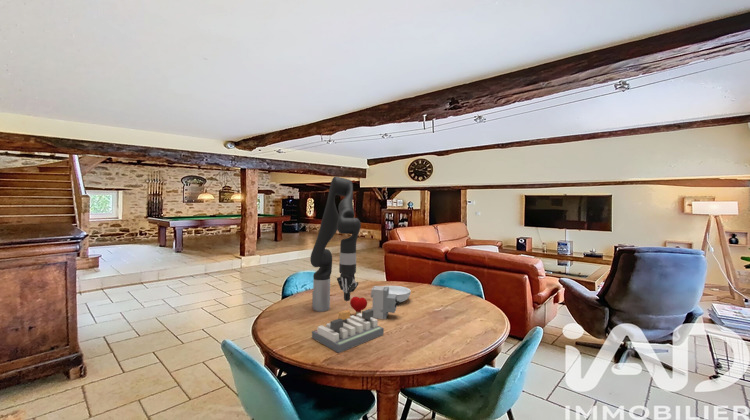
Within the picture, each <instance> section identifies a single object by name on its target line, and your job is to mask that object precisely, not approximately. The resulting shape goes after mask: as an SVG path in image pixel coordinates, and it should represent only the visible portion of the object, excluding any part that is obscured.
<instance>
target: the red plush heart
mask: <svg viewBox="0 0 750 420" xmlns="http://www.w3.org/2000/svg"><path fill="white" fill-rule="evenodd" d="M349 301H350V302H349V303H350V307H351V309H353V310H354V311H355V315H356V314H359V313H361V314H362V311H364V310H366V308H367V306H368V300H367V299H366V298H365V297H359V296H354V297H351V298H350V300H349Z"/></svg>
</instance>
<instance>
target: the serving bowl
mask: <svg viewBox="0 0 750 420" xmlns="http://www.w3.org/2000/svg"><path fill="white" fill-rule="evenodd" d="M384 286H385V287H389V294H397V301H399V303H402V302H405V301H406V300H408V299H409V298H410V295H411V291H412V290H411V289H410V288H408V287H406V286H400V285H384Z"/></svg>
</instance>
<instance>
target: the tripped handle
mask: <svg viewBox="0 0 750 420" xmlns="http://www.w3.org/2000/svg"><path fill="white" fill-rule="evenodd" d="M350 316H351V310H347V309H346V310H342V311H340V312H338V313H337V317H338V318H337V319H342V320H343V322H344V323H346V324H347V319H349V318H350Z"/></svg>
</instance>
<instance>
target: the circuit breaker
mask: <svg viewBox="0 0 750 420" xmlns="http://www.w3.org/2000/svg"><path fill="white" fill-rule="evenodd" d="M385 286H386V285H382V286H381V285H374V286H373V287H372V288H371V290H370V298H372V304H371V308H370V309H372V310H373V317H372V318H374V319H377V320H378V319H379V320H387V317H388V315H389V313H390V314H395V313H396V311H397V307H398V306H399V305H400V302H399V301H397V294H389V287H385Z"/></svg>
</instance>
